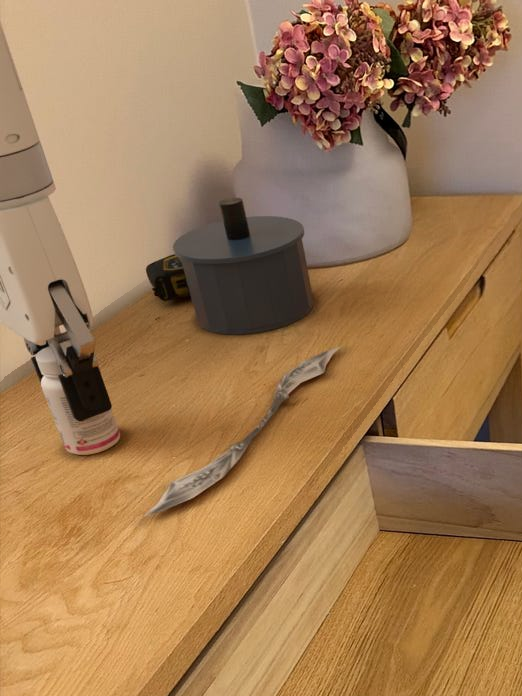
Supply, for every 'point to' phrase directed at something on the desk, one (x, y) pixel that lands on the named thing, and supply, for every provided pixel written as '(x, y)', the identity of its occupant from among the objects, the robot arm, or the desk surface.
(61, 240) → the robot arm
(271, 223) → the pot lid
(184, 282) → the tape measure
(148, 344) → the desk surface
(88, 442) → the pill bottle
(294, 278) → the pot
